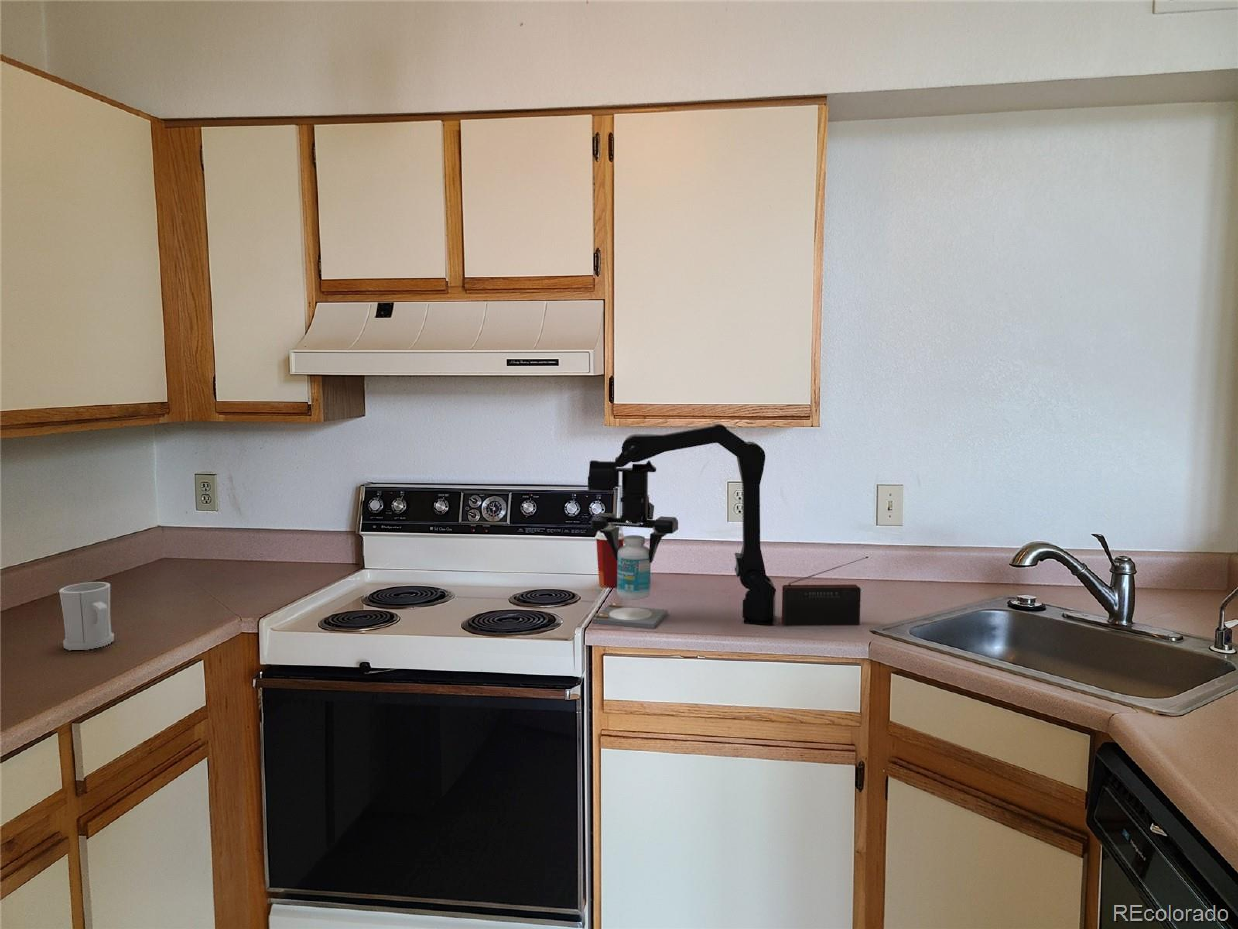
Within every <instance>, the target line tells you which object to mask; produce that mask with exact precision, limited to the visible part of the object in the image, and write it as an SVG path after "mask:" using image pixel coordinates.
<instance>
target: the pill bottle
mask: <svg viewBox="0 0 1238 929" xmlns="http://www.w3.org/2000/svg"><path fill="white" fill-rule="evenodd" d="M624 536H625V537H624V539H623V546H622V547H621V548H620V549H619V550H618V563H617V587H616V592H617V593H616V594H617V596H618V597H619V598H621V599H624V600H630V601H640V600H645V599H647V598H649V597H650V595H651V576H652V575H651V573H652V572H651V566H652V564H651V563H650V562H649V547H647V546H646V545H645V543H646V537H645V536H642V535H636V534H633V535H632V534H631V535H630V534H629V535H624Z"/></svg>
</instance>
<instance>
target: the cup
mask: <svg viewBox="0 0 1238 929" xmlns="http://www.w3.org/2000/svg"><path fill="white" fill-rule="evenodd" d="M58 592H59V598H60V603H61V609H62V616H63V625H64V635H65V639H63V641H62V643H63V644H62V645H63V648H64V649H66V650H68V651H71V650H85V651H90V650H89V649H92V650H95V649H94V648H97V649H100V648H99V647H101V648H104V647H107V646H109V645H111V642H112V643H113V642H114V641H115V635H114V632H112V627H111V626H112V624H111V584H110V583H109V582H102V581H92V582H91V581H90V582H81V583H75V584H71V585H66V586H64V587H62V588H60V589H59V591H58ZM108 644H109V645H108ZM106 645H107V646H106ZM103 646H104V647H103Z"/></svg>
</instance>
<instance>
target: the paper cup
mask: <svg viewBox="0 0 1238 929" xmlns="http://www.w3.org/2000/svg"><path fill="white" fill-rule="evenodd" d="M625 536H626V535H624V532H623V531H622V530H619V534H618V538H619V549H620V548H621V547H622V546H624V537H625ZM594 539H596V540H595V541H596V557H597V558H596V559H597V571H598V573H597V574H598V586H599V587H600V588H605V589H606V587H609V588H608V589H613V588H614V589H615V588H617V563H618V560H616V559H615V556H614V554H613V552H612V549H611V547H610V545H609V543H608V541H607V539H606V537H605V535H604V534H603V533H600V530H598V531H597V532H596V535H595V536H594Z"/></svg>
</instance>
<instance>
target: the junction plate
mask: <svg viewBox="0 0 1238 929" xmlns="http://www.w3.org/2000/svg"><path fill="white" fill-rule="evenodd" d="M667 615H668V609H665V608H652V607H641V606H629V605H622V604H621V603H616V602H609V603H608V605H607V606H606V607H605V608H603V610H601V611H600V612H598V613H595V614H594V617H592V618H591V620H592V621H591V623H592V624H598V625H609V626H619V627H627V628H628V627H629V628H642V629H649V630H651V629H652V630H653V629H655V628H656V627H657V626H658V625H659V624H660V623H661V621H663V619H665V617H666V616H667Z"/></svg>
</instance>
